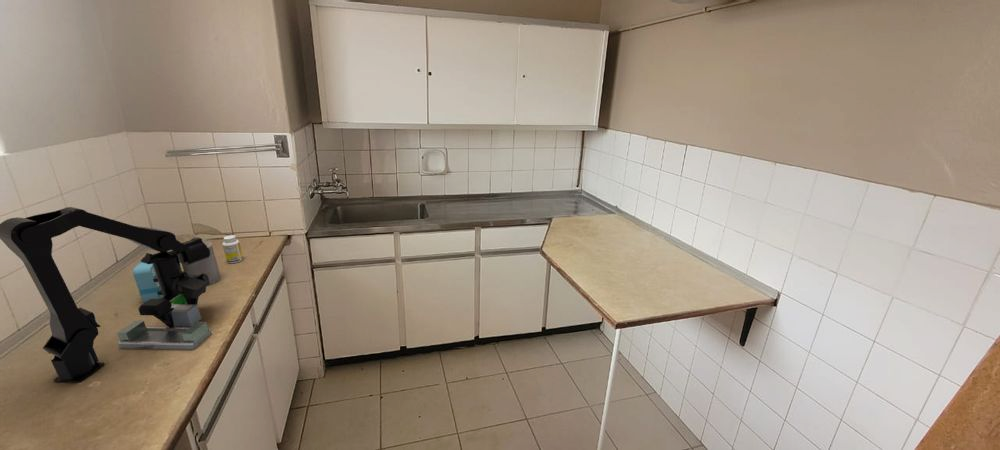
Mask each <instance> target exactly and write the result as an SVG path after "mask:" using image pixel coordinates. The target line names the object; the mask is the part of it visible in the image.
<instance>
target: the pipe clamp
mask: <svg viewBox="0 0 1000 450" xmlns="http://www.w3.org/2000/svg"><path fill="white" fill-rule="evenodd" d="M170 302H171V304H173V305H174V304H187V302H186V300H185V298H184V296H183V295H182V294H181V295H179V296H178V297H176V298H175V299H173V300H172V301H170ZM187 305H188V304H187Z"/></svg>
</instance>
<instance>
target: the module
mask: <svg viewBox="0 0 1000 450" xmlns="http://www.w3.org/2000/svg"><path fill="white" fill-rule="evenodd" d="M171 308H174V309H173V311H172V312H171V314H172V318H173V322H174V327H191V326H193V325H194V324H195V323H196V322H200V320H202V316H201V313H200V310H199V307H198V304H197V305H188V304H174V303H173V304H172V306H171Z"/></svg>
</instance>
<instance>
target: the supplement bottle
mask: <svg viewBox="0 0 1000 450" xmlns="http://www.w3.org/2000/svg"><path fill="white" fill-rule="evenodd" d="M222 247H223V252H224V255H225V256H224V257H225V260H226V262H227V263H228V264H237V263H239V262H240V263H241V261H243V260H244V256H243V252H242V247H241V242H240V240H238V239H237V237H236V235H233V234H232V235H231V234H230V235H226V236H224V237H223V242H222Z"/></svg>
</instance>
